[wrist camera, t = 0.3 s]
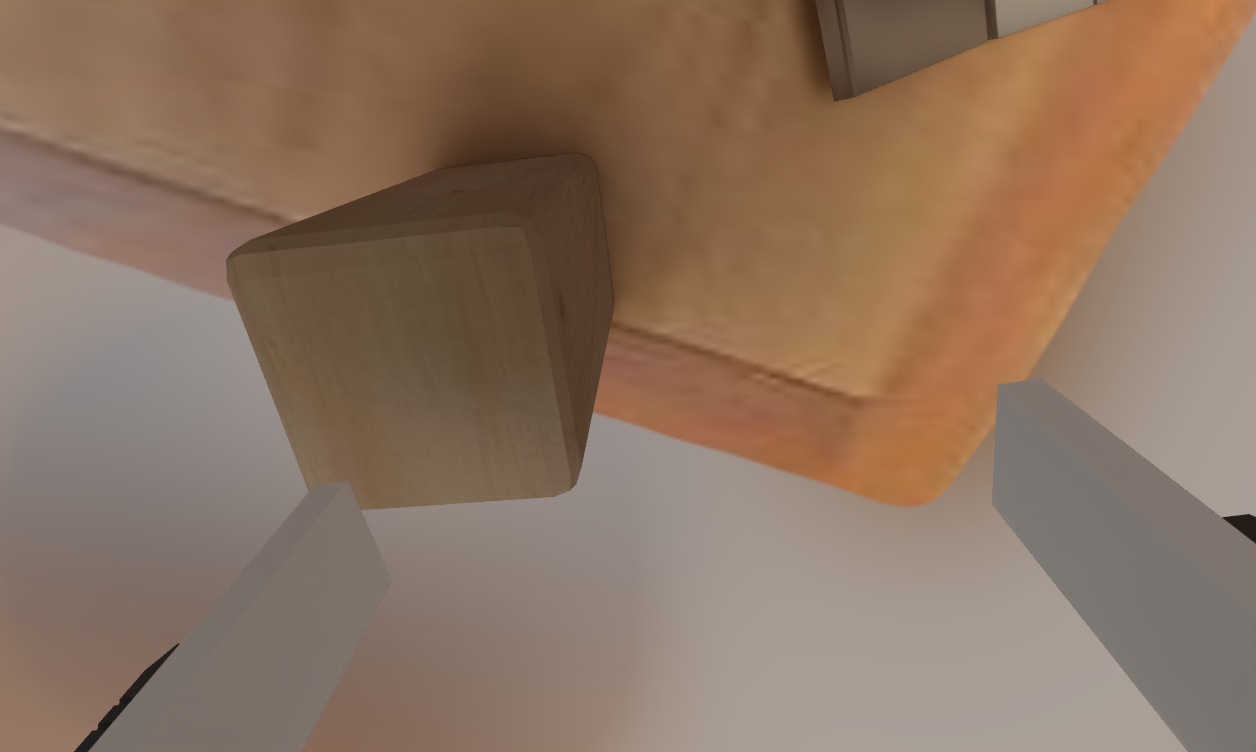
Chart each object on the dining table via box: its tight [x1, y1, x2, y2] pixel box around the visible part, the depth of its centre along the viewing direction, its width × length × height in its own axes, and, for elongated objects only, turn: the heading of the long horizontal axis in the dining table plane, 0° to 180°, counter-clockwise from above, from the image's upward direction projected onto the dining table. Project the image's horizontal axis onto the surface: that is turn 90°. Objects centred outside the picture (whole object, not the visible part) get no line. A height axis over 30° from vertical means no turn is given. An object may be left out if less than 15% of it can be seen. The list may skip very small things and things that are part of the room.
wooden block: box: [226, 153, 614, 510], centre depth 29 cm, size 10×10×20 cm
